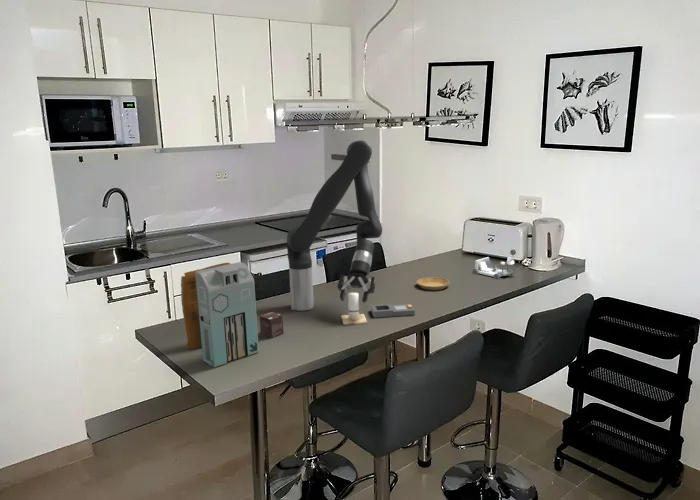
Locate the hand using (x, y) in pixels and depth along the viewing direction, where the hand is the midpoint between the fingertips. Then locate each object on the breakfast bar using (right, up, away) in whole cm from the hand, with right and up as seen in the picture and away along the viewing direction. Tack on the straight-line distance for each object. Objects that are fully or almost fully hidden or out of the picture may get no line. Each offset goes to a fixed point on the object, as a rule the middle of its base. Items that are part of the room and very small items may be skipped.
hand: (352, 300), depth 212 cm
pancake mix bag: (-50, -13, -17) cm, 54 cm away
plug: (0, -7, +2) cm, 7 cm away
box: (-29, -11, -10) cm, 33 cm away
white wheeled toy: (+69, +7, +59) cm, 91 cm away
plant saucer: (+37, +2, +43) cm, 56 cm away
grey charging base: (+16, -6, +9) cm, 19 cm away
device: (-40, -16, -29) cm, 52 cm away
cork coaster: (0, -7, +2) cm, 8 cm away
